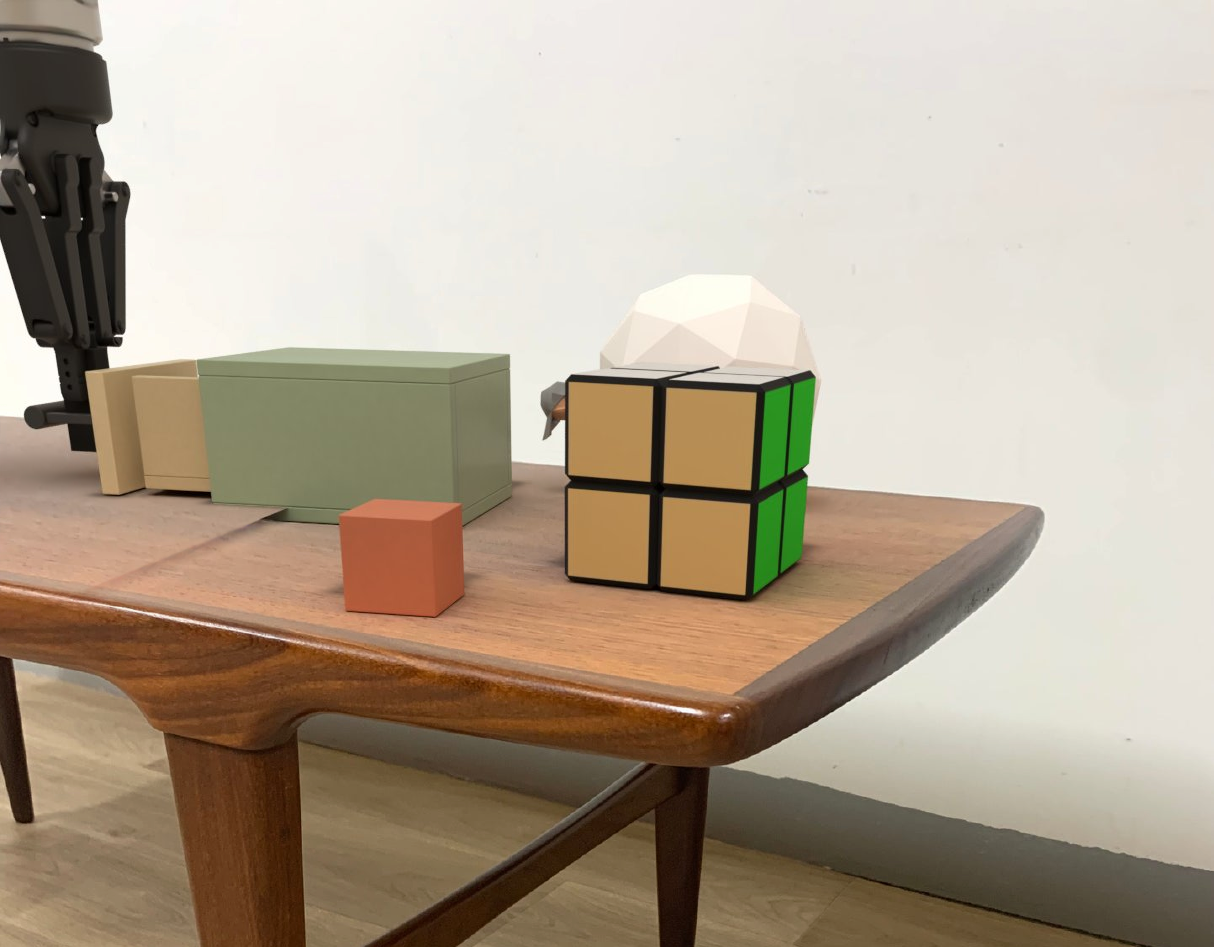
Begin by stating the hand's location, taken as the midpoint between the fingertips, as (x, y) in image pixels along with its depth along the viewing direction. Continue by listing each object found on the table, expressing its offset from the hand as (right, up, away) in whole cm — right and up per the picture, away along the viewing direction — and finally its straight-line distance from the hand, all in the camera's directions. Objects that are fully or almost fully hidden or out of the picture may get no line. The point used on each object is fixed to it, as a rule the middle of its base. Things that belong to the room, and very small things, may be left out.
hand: (95, 450), depth 85 cm
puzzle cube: (+39, -12, -18) cm, 45 cm away
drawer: (+8, -2, -1) cm, 8 cm away
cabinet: (+19, -4, -2) cm, 20 cm away
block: (+25, -15, -25) cm, 39 cm away
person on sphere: (+40, -3, +3) cm, 40 cm away
